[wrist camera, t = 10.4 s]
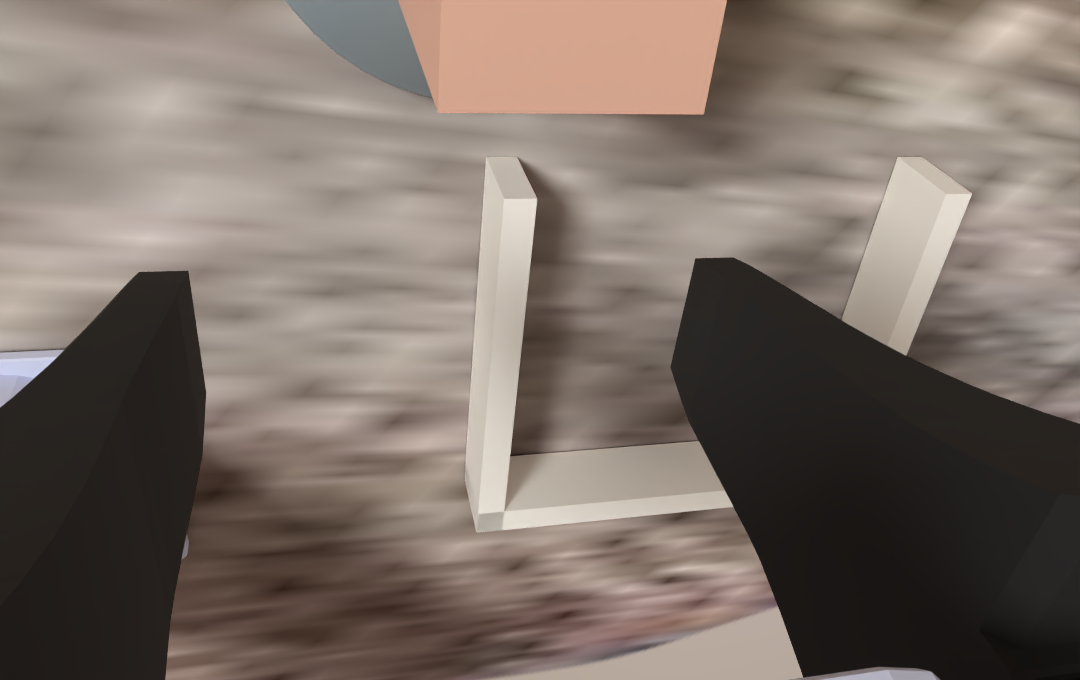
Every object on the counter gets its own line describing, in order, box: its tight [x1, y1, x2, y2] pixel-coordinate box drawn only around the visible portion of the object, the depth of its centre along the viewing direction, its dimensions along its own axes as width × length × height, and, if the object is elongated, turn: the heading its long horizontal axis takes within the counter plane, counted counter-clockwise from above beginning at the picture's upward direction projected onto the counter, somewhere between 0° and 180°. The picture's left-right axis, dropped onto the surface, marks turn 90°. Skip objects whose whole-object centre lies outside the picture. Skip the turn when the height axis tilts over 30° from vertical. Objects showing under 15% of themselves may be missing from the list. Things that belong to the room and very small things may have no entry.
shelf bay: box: [464, 157, 972, 533], centre depth 27 cm, size 13×11×2 cm
